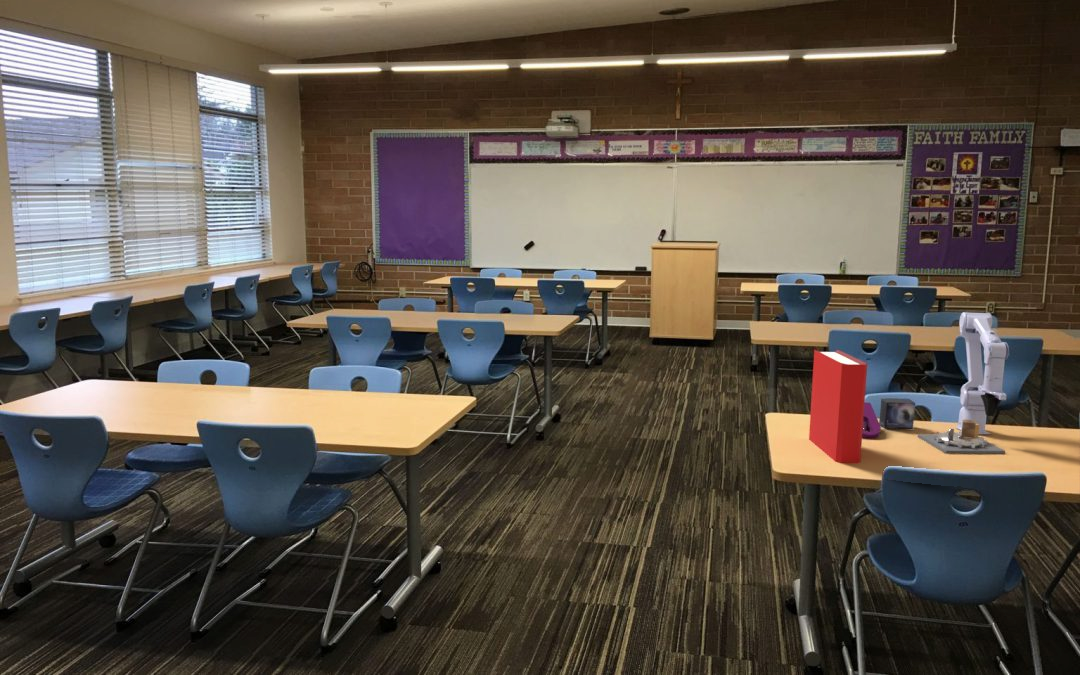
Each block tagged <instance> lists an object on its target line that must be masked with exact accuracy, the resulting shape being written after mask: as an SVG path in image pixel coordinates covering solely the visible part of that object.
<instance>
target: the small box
mask: <svg viewBox="0 0 1080 675" xmlns="http://www.w3.org/2000/svg"><path fill="white" fill-rule="evenodd" d="M880 400H881V401H880V409H879V410H880V411H879V420H878V422H879V424H880V427H881V428H883V429H884V430H901V429H913V430H914V422H915V421H914V420H915V409H916V402H915V401H912V400H911V399H910V398H893V397H889V398H888V397H886V398H885V397H882V398H881V399H880Z"/></svg>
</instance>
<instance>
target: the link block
mask: <svg viewBox="0 0 1080 675" xmlns="http://www.w3.org/2000/svg"><path fill="white" fill-rule="evenodd" d="M975 425H976V421H973V420H964V419H963V422H962V431H961V432H962V433H961V436H966V437H974V436H975Z"/></svg>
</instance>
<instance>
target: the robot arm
mask: <svg viewBox="0 0 1080 675" xmlns="http://www.w3.org/2000/svg"><path fill="white" fill-rule="evenodd" d="M958 324H959V325H958V326H959V333H960V336H961V337H962V338H964V340H965V341H964V342H965V350H966V364H967V376H968V381H967V382H965V384H962V386H961V388H960V395H959V396H960V397H959V401H960V404H961V406H962V407H961V408H960V410H959V414H958V425H957V426H955V428H956V429H957V430H960V432H962V422H963V419H964V420H973V421H976V424H979V434H978V435H991V433H990V432H989V431H986V425H987V417H994V416H995V414H996V411H997V409H998V406H999V405H1000V403H1002V401H1007V394H1006V393H1005V392H1004V391H1003V380H1004V374H1005V373H1004V372H1005V361H1006V360H1007V359H1008V357H1009V354H1010V350H1009V345H1008V343H1007V342H1005V341H1002V340H1001V338H1000V337H999V335H998V333H997V332H996V331H995V330H992V327H993V315H992V313H990V312H985V313H984V312H966V311H963V312H962V313H961V314H960V317H959V323H958ZM981 344H982V346H983V356H984V358H983V357H982V348H981V347H982V346H981ZM982 358H983V360H984V361H983V360H982ZM983 362H984V371H983Z"/></svg>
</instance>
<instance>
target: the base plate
mask: <svg viewBox="0 0 1080 675" xmlns="http://www.w3.org/2000/svg"><path fill="white" fill-rule="evenodd" d="M935 434H936V433H935ZM935 434H933V433H932V434H929V433H928V434H927V433H926V434H925V433H924V434H920V433H919V434H917V438H918V437H919V439H920V438H921V439H920V440H922V441H923V440H924V441H923V442H925V441H926V442H925V443H927V444H929V445H930V444H931V445H930V446H933V448H935V447H936V448H935V449H937V448H938V450H939V451H940V450H941V451H940V452H942V451H943V452H942V453H944V454H946V453H951V454H952V453H953V454H954V453H960V454H963V455H964V454H965V455H966V454H969V455H971V454H973V455H975V454H983V455H984V454H987V455H989V454H995V455H996V454H997V455H999V454H1001V455H1002V454H1003V453H1005V454H1006V450H1004V449H1003V448H1001V447H999V446H997V445H994V444H993V443H991V442H989V441H987V445H984V447H983V448H981V447H975V448H970V447H962V448H959V447H958V446H952V445H945V444H944V443H942V442H937V441H936V440H937V439H934V435H935ZM936 435H937V434H936ZM979 435H980V434H979V424H976V425H975V436H977V437H979ZM1003 455H1004V454H1003Z"/></svg>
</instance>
